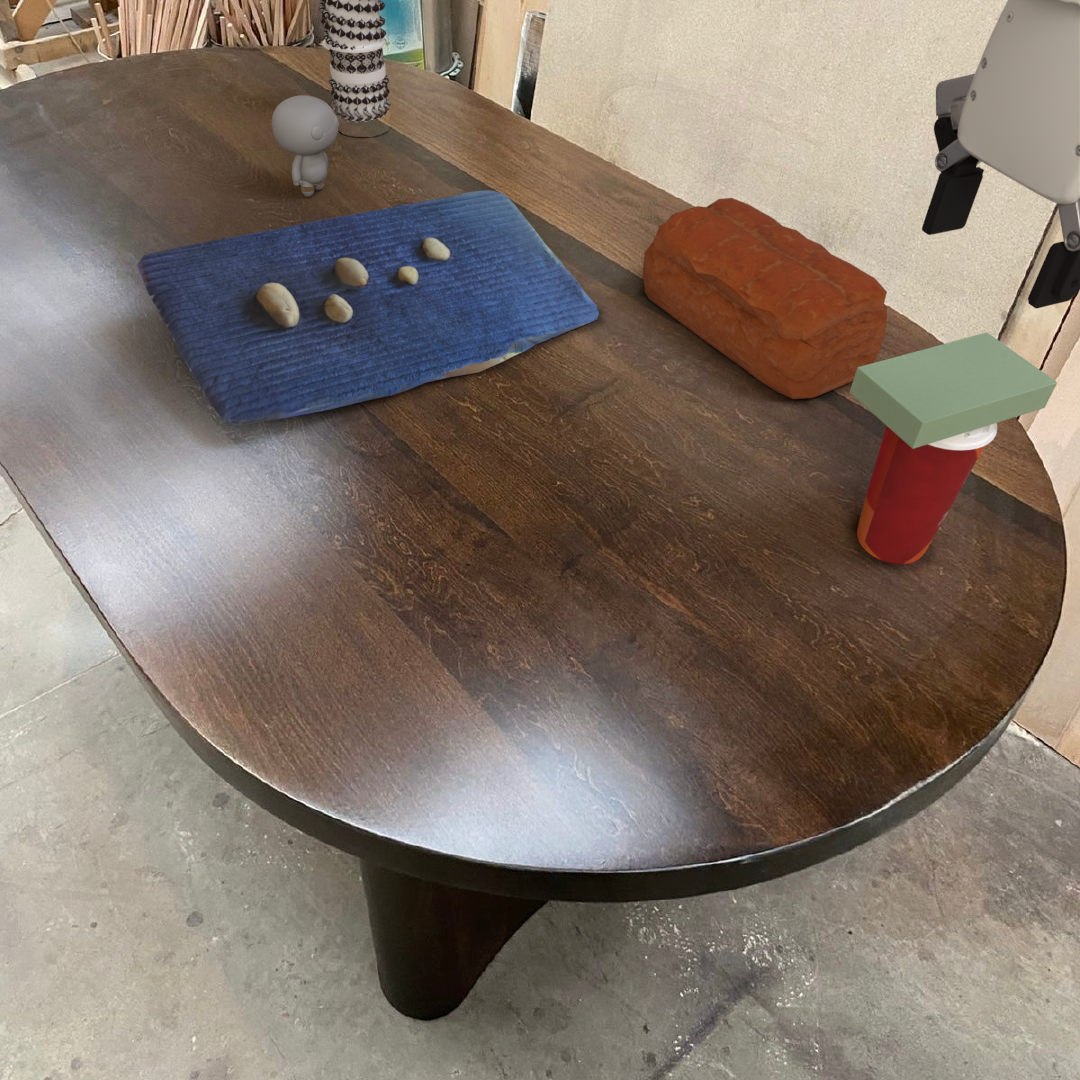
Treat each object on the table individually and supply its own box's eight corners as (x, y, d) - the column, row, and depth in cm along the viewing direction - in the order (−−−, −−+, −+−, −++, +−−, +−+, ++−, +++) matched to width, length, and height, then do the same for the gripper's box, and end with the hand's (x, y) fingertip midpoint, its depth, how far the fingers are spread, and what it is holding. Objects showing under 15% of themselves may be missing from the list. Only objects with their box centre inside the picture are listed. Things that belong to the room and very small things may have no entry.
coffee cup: (959, 560, 83) (1027, 422, 72) (880, 584, 81) (939, 444, 70) (899, 498, 88) (955, 361, 78) (824, 519, 86) (871, 380, 75)
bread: (725, 260, 119) (741, 176, 112) (890, 367, 104) (921, 278, 96) (625, 293, 113) (635, 206, 105) (785, 412, 97) (810, 321, 90)
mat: (472, 236, 126) (490, 160, 117) (590, 383, 116) (620, 314, 107) (125, 317, 104) (114, 232, 95) (235, 507, 94) (235, 433, 85)
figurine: (320, 211, 124) (308, 117, 116) (272, 198, 126) (256, 104, 118) (355, 187, 129) (345, 95, 121) (308, 175, 132) (296, 84, 123)
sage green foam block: (976, 357, 78) (987, 331, 77) (1044, 408, 74) (1057, 382, 72) (848, 392, 74) (857, 366, 73) (912, 449, 70) (923, 423, 68)
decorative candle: (330, 139, 140) (306, -57, 123) (333, 114, 147) (312, -76, 129) (393, 139, 141) (379, -56, 124) (394, 114, 148) (381, -74, 130)
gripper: (1318, 3, 45) (1144, 322, 57) (1045, -85, 56) (948, 198, 68) (1204, 18, 43) (1048, 347, 55) (944, -77, 54) (861, 214, 66)
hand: (992, 264), depth 61 cm, fingers open, 9 cm apart
